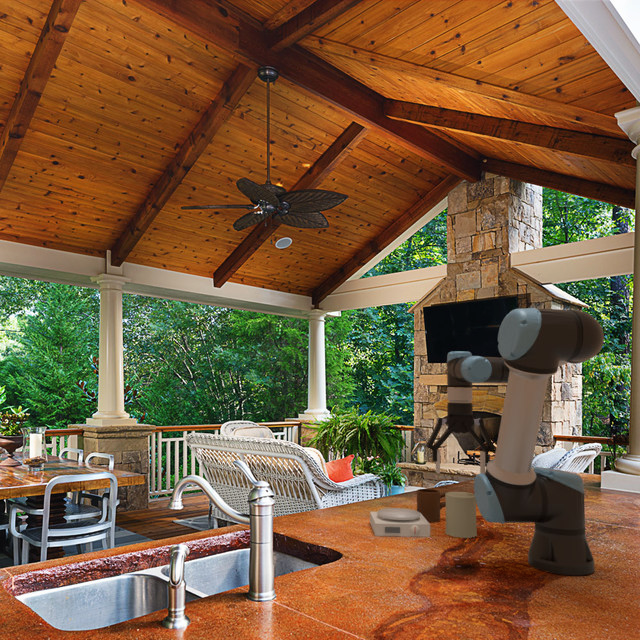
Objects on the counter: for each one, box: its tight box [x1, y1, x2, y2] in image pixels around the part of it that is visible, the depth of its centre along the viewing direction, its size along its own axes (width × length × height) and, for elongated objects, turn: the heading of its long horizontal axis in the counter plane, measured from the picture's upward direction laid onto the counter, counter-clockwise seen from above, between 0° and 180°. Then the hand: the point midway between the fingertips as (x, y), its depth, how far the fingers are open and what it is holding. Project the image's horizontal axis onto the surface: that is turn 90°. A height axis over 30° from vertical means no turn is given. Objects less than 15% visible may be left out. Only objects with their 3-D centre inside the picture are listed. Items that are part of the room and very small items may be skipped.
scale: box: [369, 507, 431, 538], centre depth 175 cm, size 16×16×5 cm
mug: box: [416, 488, 448, 523], centre depth 190 cm, size 12×8×9 cm, turn 98°
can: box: [444, 491, 478, 539], centre depth 172 cm, size 9×9×12 cm
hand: (460, 473), depth 174 cm, fingers open, 13 cm apart
